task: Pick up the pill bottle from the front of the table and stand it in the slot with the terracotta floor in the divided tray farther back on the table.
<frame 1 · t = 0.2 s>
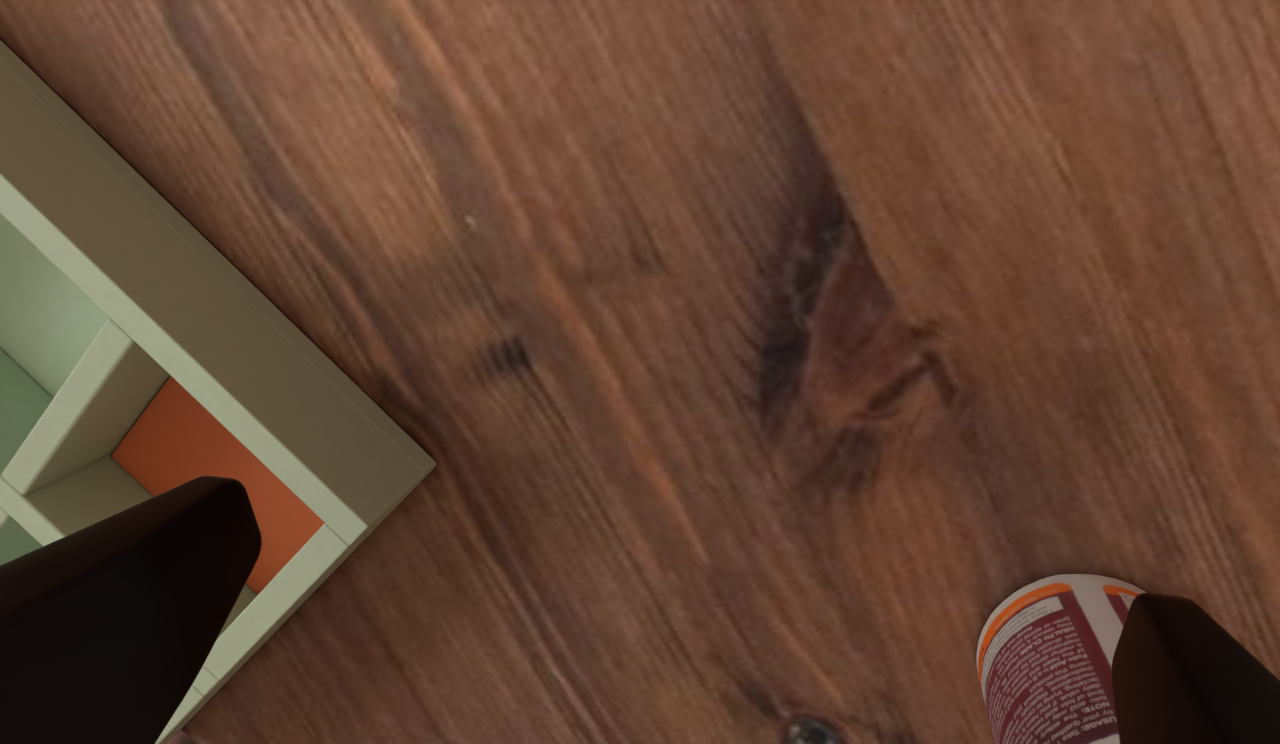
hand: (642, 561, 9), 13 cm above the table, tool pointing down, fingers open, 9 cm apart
pill bottle: (1075, 650, 22), on the table
divided tray: (31, 360, 26), on the table
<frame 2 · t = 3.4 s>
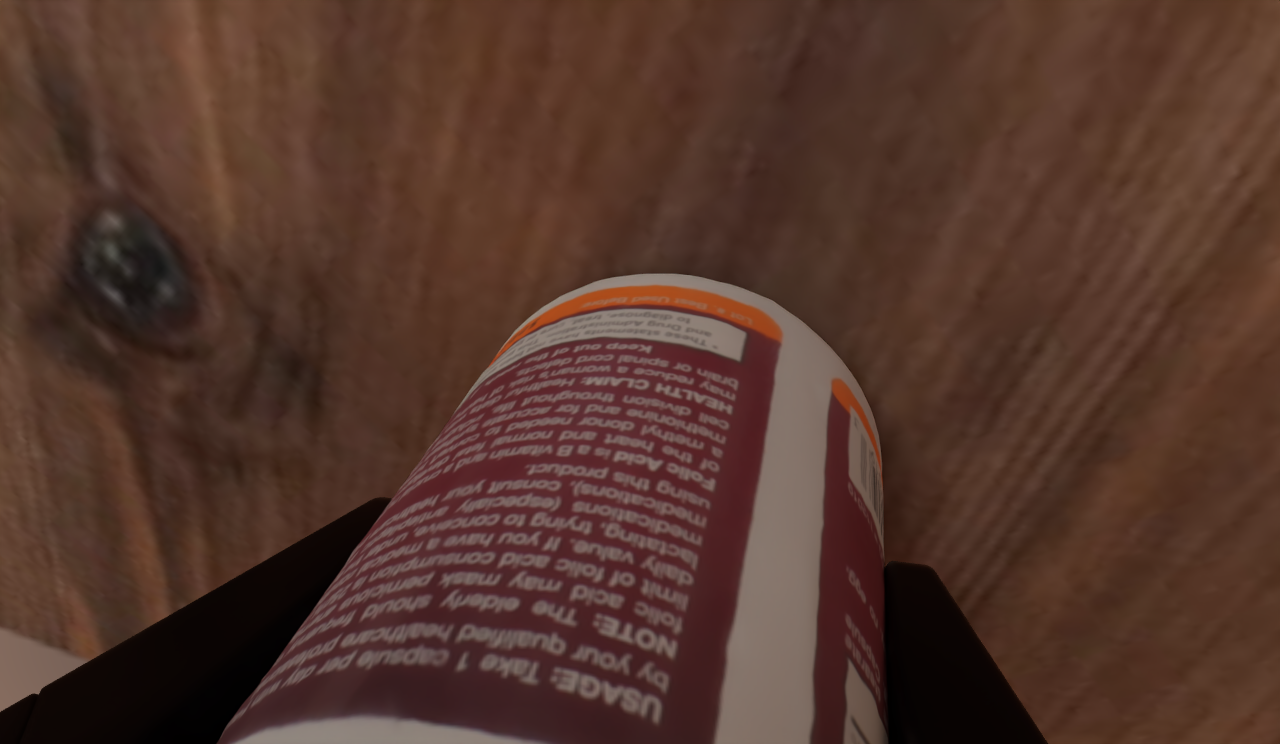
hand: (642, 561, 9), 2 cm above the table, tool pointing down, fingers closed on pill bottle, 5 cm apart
pill bottle: (681, 436, 11), on the table, touching gripper
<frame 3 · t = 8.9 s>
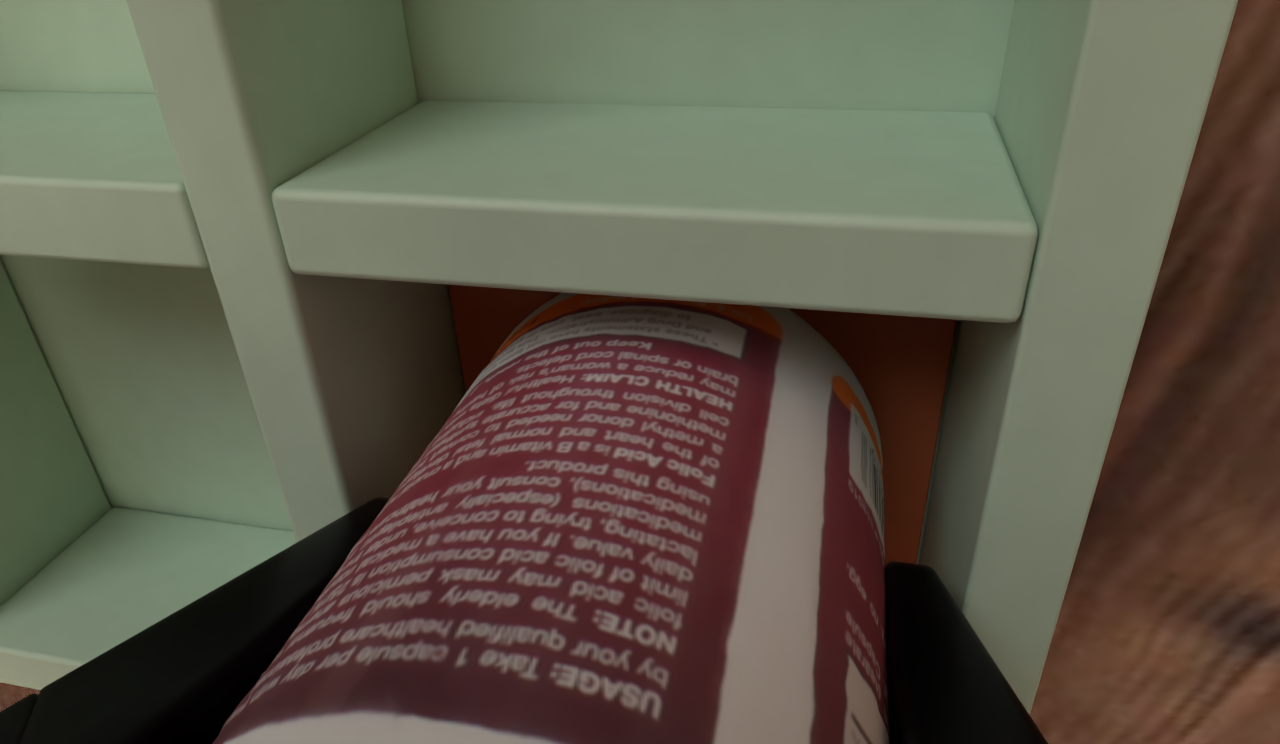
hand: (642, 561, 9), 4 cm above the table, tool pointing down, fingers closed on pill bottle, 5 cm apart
pill bottle: (681, 434, 11), point 1 cm above the table, touching gripper
when the fingers open (5 cm above the table, at t = 16.4 s): pill bottle drops 2 cm, resting on divided tray.
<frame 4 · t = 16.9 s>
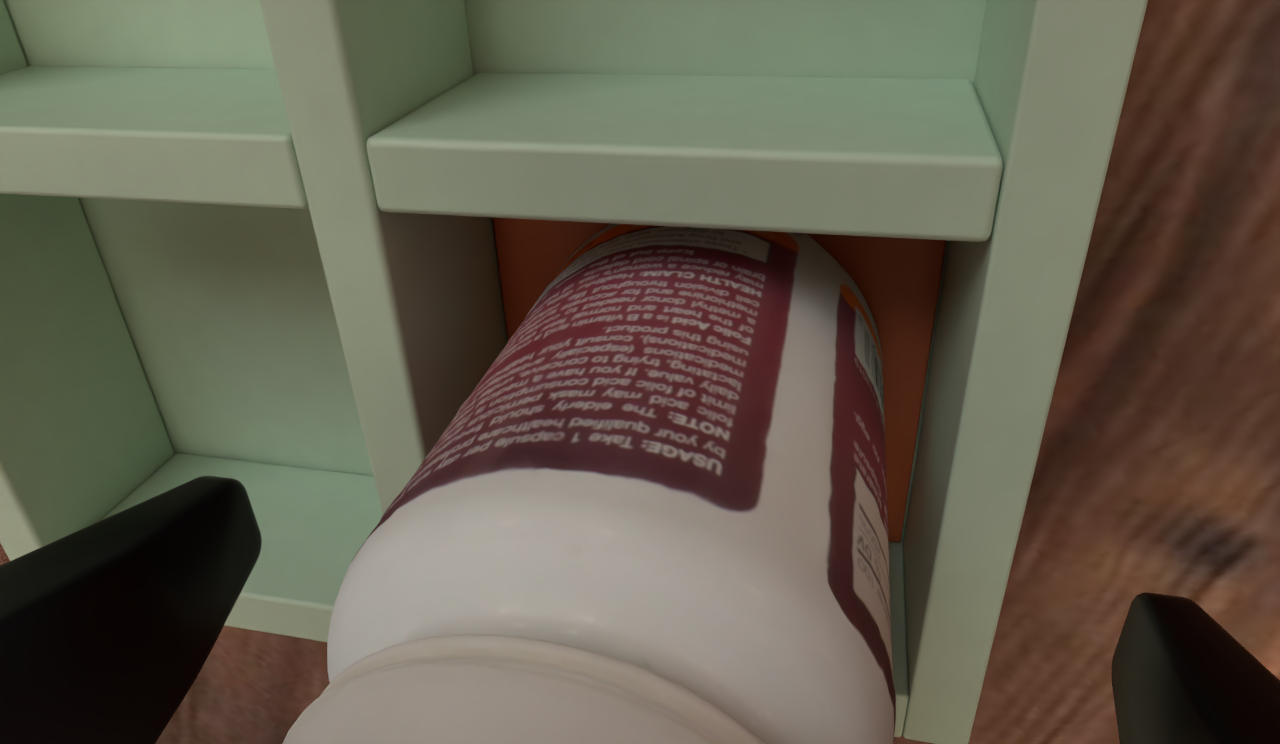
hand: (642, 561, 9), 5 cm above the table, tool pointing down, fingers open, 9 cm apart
pill bottle: (710, 350, 12), point 1 cm above the table, touching divided tray
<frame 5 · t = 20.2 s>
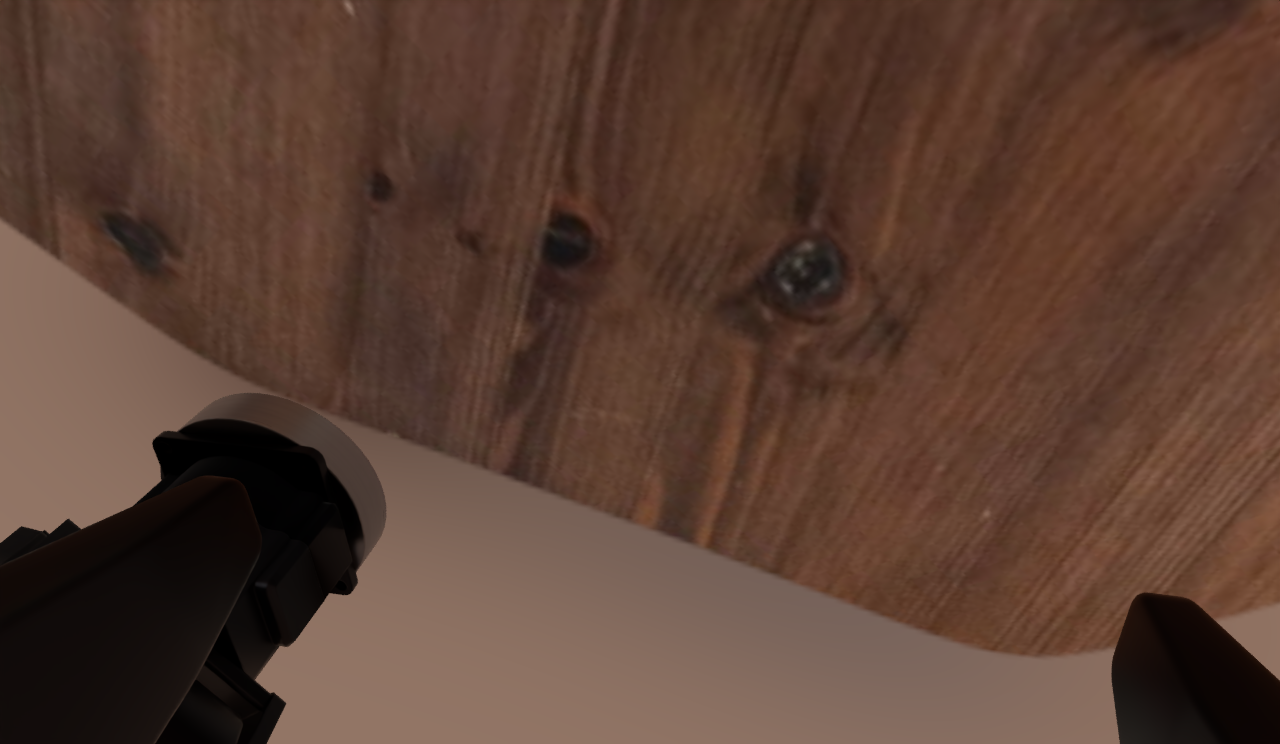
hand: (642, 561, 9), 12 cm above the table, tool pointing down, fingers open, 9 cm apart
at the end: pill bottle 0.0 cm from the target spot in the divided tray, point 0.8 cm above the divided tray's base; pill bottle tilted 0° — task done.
